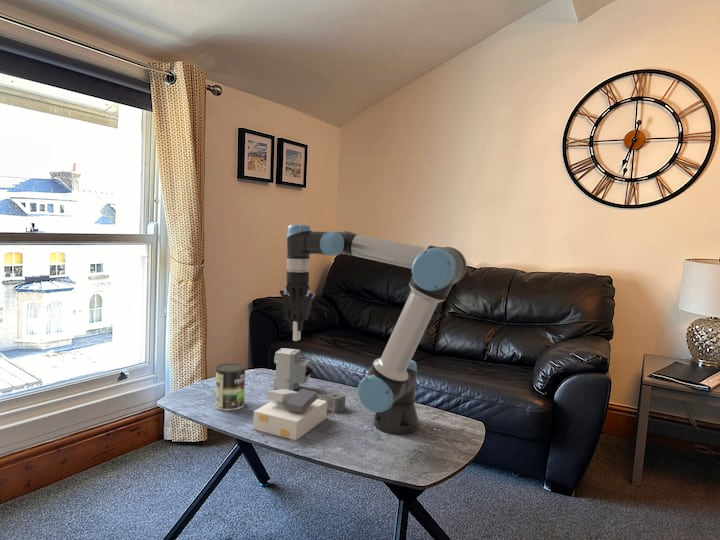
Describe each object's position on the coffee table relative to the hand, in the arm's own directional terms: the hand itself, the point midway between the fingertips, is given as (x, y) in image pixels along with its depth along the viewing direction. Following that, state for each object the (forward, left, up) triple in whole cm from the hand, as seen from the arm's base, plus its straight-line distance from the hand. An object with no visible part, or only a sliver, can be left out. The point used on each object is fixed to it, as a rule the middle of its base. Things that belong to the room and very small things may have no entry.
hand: (296, 339), depth 167 cm
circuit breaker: (+15, -24, -27) cm, 39 cm away
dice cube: (-9, -14, -27) cm, 32 cm away
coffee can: (+25, +3, -27) cm, 37 cm away
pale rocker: (+2, +5, -19) cm, 20 cm away
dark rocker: (-6, +6, -19) cm, 21 cm away
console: (-2, +5, -27) cm, 28 cm away
